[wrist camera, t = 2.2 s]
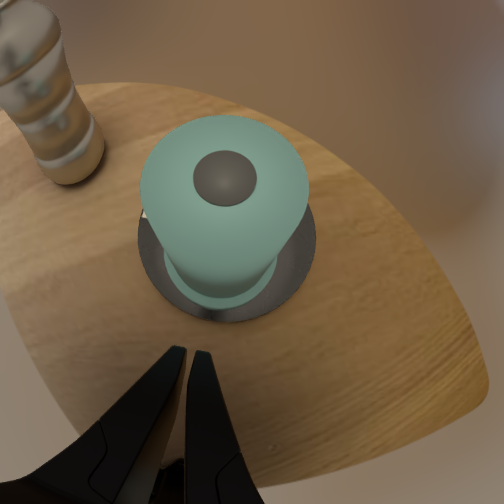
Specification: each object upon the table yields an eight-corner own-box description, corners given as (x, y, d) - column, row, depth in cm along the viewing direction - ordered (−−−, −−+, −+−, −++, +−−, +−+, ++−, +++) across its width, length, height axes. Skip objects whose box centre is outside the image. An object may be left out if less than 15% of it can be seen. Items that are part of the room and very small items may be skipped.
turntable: (344, 246, 23) (350, 240, 22) (215, 360, 20) (215, 361, 19) (238, 135, 25) (239, 126, 24) (110, 222, 22) (105, 216, 20)
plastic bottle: (41, 187, 23) (-74, 37, 4) (70, 131, 25) (-2, -26, 6) (92, 198, 23) (-25, 7, 4) (121, 137, 25) (64, -54, 6)
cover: (290, 266, 21) (359, 194, 11) (213, 332, 19) (208, 324, 9) (227, 195, 22) (238, 82, 12) (150, 252, 20) (93, 168, 10)
